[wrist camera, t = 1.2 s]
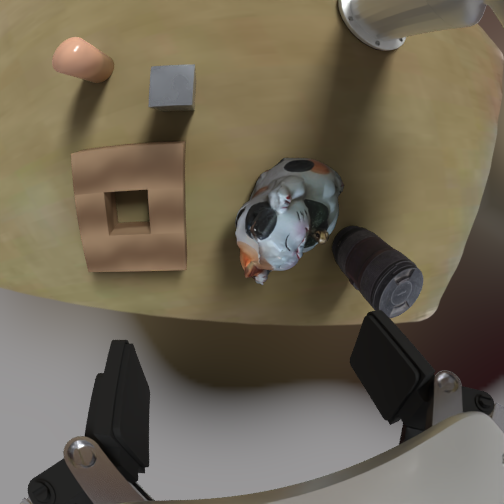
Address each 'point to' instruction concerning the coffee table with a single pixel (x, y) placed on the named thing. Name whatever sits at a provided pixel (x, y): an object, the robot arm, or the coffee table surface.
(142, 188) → the bore block
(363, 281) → the camera lens
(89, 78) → the round bit
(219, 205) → the coffee table surface
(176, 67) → the square bit
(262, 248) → the lucky cat figurine
